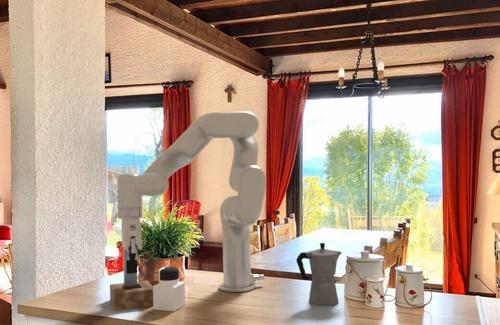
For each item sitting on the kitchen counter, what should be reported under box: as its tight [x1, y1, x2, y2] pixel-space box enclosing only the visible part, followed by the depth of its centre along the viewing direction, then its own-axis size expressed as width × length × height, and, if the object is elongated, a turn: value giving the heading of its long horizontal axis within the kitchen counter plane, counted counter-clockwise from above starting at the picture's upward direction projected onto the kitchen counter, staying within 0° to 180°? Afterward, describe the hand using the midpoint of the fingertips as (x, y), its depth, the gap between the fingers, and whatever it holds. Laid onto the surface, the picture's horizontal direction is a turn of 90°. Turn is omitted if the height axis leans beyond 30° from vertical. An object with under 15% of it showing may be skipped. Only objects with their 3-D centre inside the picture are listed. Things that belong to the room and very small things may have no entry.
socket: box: [109, 280, 154, 311], centre depth 149 cm, size 12×12×5 cm
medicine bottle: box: [152, 265, 186, 312], centre depth 144 cm, size 7×7×12 cm
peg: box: [123, 247, 138, 286], centre depth 149 cm, size 4×4×12 cm
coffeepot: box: [296, 242, 342, 307], centre depth 146 cm, size 15×9×18 cm, turn 110°
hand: (130, 270), depth 149 cm, fingers closed on peg, 4 cm apart
